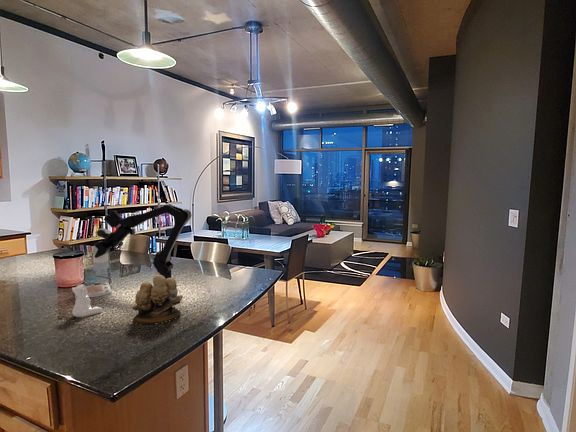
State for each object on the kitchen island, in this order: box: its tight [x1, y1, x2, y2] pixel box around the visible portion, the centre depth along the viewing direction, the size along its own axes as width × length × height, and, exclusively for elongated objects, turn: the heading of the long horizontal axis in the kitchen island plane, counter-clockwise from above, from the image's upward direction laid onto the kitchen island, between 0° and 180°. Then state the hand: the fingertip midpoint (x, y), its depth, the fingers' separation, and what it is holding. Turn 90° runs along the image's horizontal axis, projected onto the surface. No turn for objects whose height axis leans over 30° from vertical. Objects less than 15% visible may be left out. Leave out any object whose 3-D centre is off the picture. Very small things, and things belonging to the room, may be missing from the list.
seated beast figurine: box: [71, 283, 103, 318], centre depth 134 cm, size 10×9×12 cm
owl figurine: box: [131, 273, 183, 325], centre depth 133 cm, size 18×12×17 cm, turn 120°
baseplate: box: [74, 282, 112, 300], centre depth 161 cm, size 14×14×2 cm
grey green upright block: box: [92, 245, 110, 272], centre depth 176 cm, size 5×5×12 cm
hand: (98, 256), depth 176 cm, fingers closed on grey green upright block, 5 cm apart
